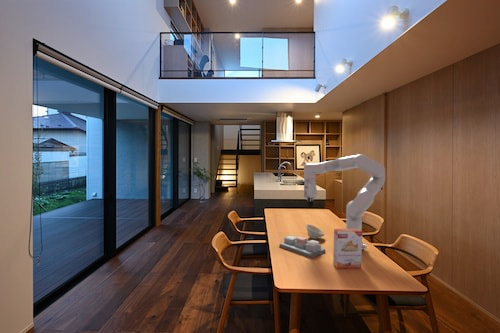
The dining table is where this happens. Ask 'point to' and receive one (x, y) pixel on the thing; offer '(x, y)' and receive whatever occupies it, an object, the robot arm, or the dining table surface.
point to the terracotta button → (301, 239)
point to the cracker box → (347, 248)
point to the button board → (302, 248)
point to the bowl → (314, 232)
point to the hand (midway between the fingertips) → (310, 206)
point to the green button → (291, 237)
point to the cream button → (313, 243)
